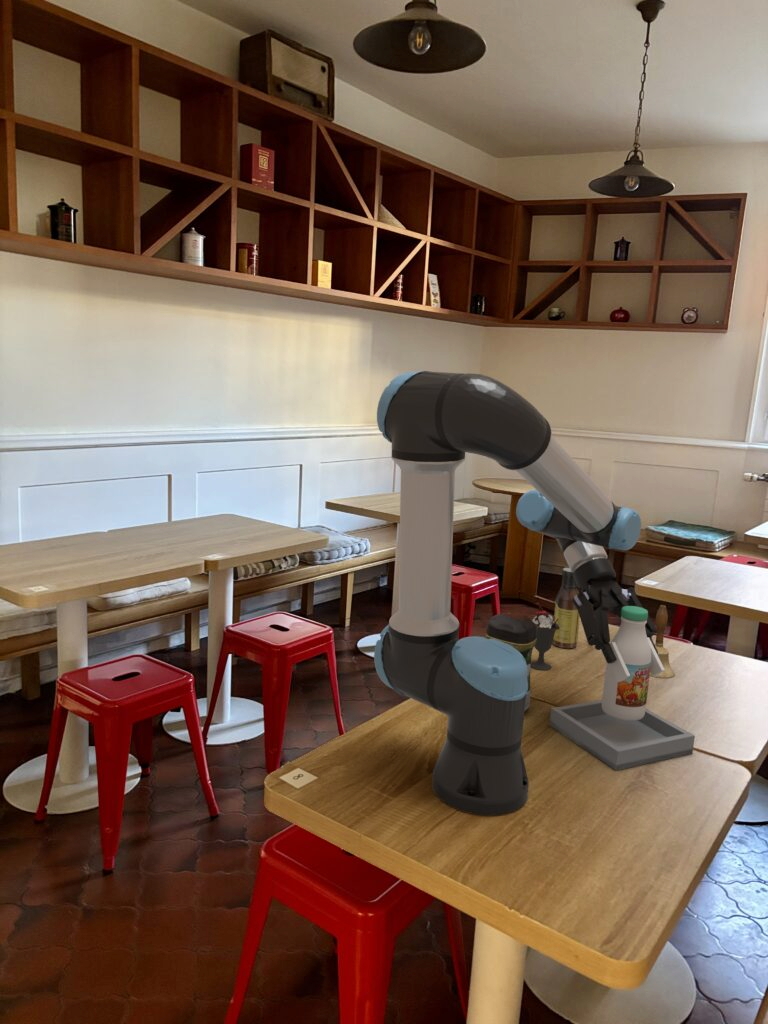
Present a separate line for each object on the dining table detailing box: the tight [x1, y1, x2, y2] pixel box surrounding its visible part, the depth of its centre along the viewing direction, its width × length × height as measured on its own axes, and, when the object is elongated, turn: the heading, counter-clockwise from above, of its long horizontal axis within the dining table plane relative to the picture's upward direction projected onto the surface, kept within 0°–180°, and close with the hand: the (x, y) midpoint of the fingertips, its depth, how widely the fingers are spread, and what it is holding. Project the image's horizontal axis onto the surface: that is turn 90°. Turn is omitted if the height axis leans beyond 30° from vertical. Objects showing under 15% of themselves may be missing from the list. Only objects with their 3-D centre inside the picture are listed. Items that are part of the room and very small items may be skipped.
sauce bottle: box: [552, 567, 581, 650], centre depth 188 cm, size 6×6×20 cm
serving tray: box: [549, 699, 696, 772], centre depth 139 cm, size 18×18×4 cm
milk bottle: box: [601, 606, 651, 721], centre depth 137 cm, size 8×8×20 cm
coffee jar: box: [485, 613, 536, 712], centre depth 150 cm, size 10×8×19 cm
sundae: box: [530, 602, 560, 671], centre depth 173 cm, size 7×7×15 cm
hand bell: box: [650, 604, 676, 679], centre depth 174 cm, size 8×8×16 cm
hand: (641, 675), depth 135 cm, fingers closed on milk bottle, 7 cm apart
